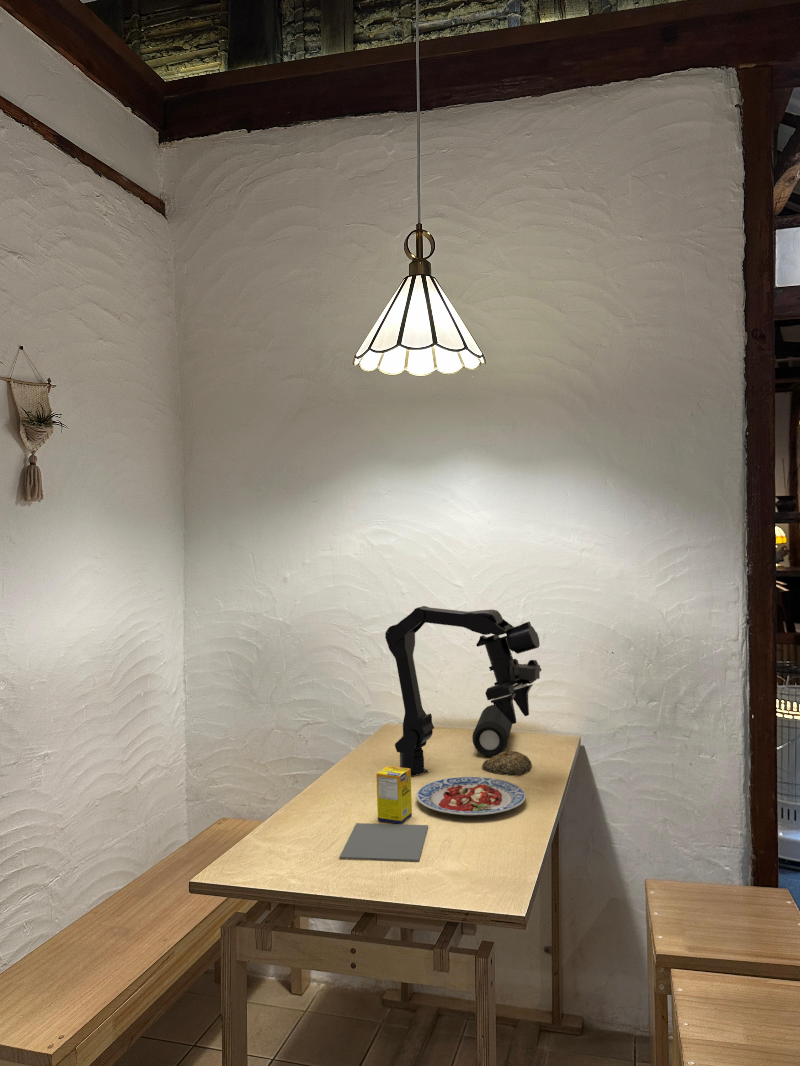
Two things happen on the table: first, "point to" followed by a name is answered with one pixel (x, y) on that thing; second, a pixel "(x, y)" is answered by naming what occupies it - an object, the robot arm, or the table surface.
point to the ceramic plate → (470, 795)
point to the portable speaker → (491, 732)
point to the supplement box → (394, 794)
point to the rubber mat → (385, 842)
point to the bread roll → (508, 763)
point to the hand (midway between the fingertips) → (520, 719)
